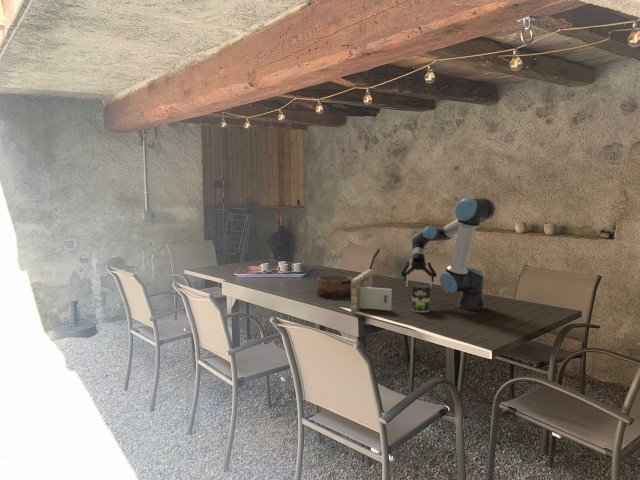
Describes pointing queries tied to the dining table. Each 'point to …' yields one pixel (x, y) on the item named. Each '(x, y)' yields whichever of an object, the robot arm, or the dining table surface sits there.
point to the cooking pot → (333, 285)
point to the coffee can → (421, 298)
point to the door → (375, 298)
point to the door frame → (356, 288)
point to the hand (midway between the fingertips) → (418, 285)
